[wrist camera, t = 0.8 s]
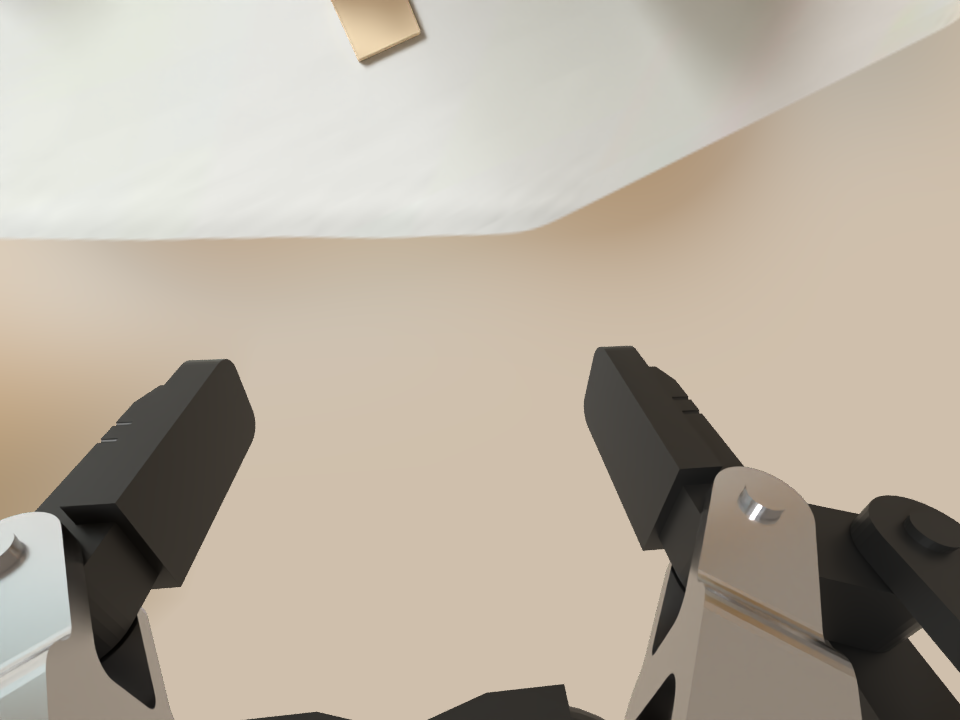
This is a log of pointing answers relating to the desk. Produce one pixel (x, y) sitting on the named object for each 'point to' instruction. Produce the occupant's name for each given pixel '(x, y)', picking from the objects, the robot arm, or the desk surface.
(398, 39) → the beech turner
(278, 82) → the desk surface
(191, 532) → the robot arm
